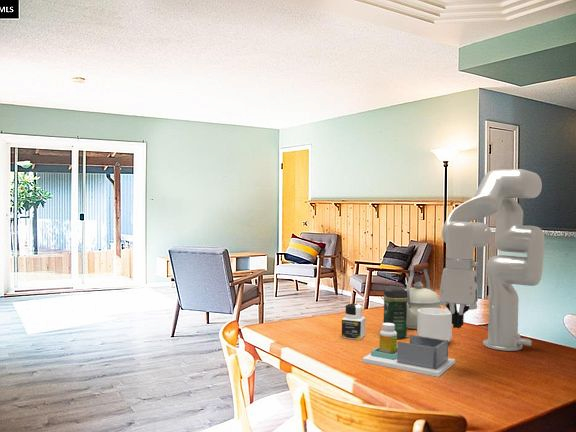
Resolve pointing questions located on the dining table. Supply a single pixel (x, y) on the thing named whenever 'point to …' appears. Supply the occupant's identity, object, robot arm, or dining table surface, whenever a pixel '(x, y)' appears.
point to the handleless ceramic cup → (434, 323)
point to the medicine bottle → (353, 322)
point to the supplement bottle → (388, 339)
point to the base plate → (391, 362)
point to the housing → (423, 352)
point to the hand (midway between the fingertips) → (457, 327)
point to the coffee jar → (396, 309)
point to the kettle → (419, 296)
